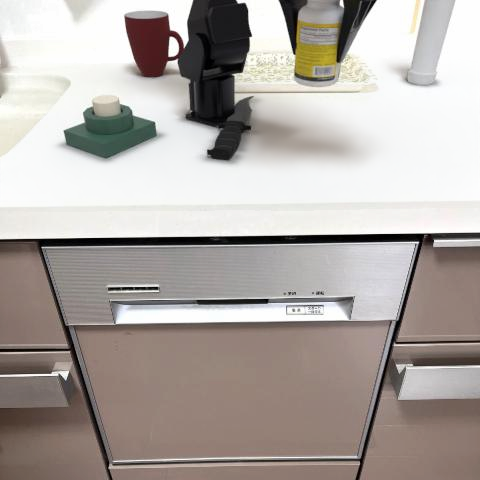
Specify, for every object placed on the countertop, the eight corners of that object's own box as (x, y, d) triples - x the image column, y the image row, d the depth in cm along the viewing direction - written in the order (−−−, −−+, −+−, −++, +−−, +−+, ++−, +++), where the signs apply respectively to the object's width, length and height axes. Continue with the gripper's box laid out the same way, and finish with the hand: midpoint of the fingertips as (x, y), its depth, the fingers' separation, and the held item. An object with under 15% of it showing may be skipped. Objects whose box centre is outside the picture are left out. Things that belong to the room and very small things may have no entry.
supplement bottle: (308, 72, 60) (317, -23, 53) (346, 80, 57) (361, -18, 51) (284, 82, 57) (290, -18, 50) (323, 91, 54) (335, -12, 48)
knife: (234, 90, 81) (263, 91, 80) (234, 99, 82) (263, 101, 81) (203, 148, 62) (240, 150, 62) (203, 159, 63) (240, 162, 63)
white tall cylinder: (405, 83, 89) (445, -92, 72) (406, 76, 93) (444, -93, 76) (434, 86, 88) (481, -92, 71) (434, 78, 92) (478, -92, 75)
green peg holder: (156, 135, 69) (153, 107, 67) (105, 158, 63) (100, 128, 60) (118, 123, 73) (113, 96, 70) (66, 144, 67) (59, 115, 64)
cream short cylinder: (126, 113, 66) (124, 98, 64) (107, 120, 64) (104, 105, 62) (108, 108, 67) (106, 93, 66) (89, 115, 65) (86, 99, 64)
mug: (187, 68, 96) (183, 10, 89) (184, 80, 90) (180, 18, 83) (134, 68, 96) (127, 10, 89) (129, 80, 90) (120, 18, 83)
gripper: (207, -127, 44) (212, 60, 54) (401, -128, 36) (363, 90, 46) (271, -124, 50) (264, 41, 61) (445, -124, 43) (403, 65, 53)
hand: (317, 58), depth 55 cm, fingers closed on supplement bottle, 5 cm apart
